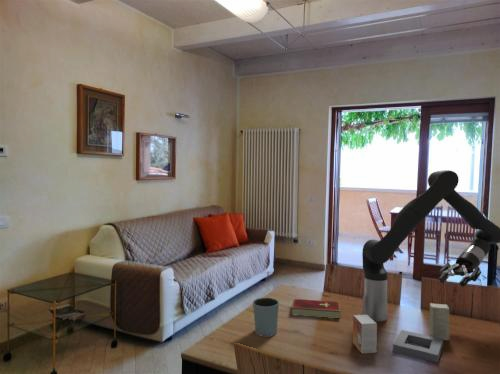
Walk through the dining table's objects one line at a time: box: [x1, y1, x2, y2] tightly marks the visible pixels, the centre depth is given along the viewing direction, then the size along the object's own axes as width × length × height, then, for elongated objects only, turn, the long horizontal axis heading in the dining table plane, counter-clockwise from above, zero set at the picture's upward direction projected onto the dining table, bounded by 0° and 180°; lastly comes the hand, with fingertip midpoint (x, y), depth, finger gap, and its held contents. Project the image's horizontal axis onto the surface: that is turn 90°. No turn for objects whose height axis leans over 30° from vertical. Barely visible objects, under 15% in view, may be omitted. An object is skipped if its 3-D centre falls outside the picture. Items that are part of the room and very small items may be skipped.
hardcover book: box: [290, 298, 342, 319], centre depth 162 cm, size 12×21×4 cm, turn 78°
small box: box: [352, 314, 378, 354], centre depth 128 cm, size 8×6×10 cm
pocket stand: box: [392, 329, 444, 363], centre depth 128 cm, size 14×14×2 cm
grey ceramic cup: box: [252, 297, 280, 337], centre depth 142 cm, size 10×10×12 cm
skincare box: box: [429, 302, 450, 341], centre depth 137 cm, size 6×4×12 cm
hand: (450, 283), depth 144 cm, fingers open, 8 cm apart
